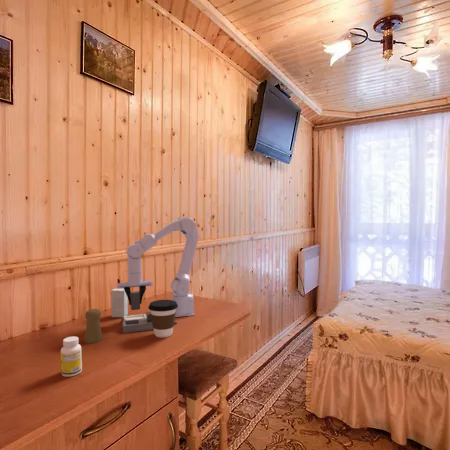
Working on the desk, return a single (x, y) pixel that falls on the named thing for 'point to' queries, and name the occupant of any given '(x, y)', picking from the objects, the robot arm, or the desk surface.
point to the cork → (93, 326)
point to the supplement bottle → (71, 357)
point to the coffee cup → (163, 317)
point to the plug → (135, 300)
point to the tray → (134, 317)
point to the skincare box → (119, 303)
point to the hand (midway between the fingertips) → (135, 303)
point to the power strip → (139, 324)
